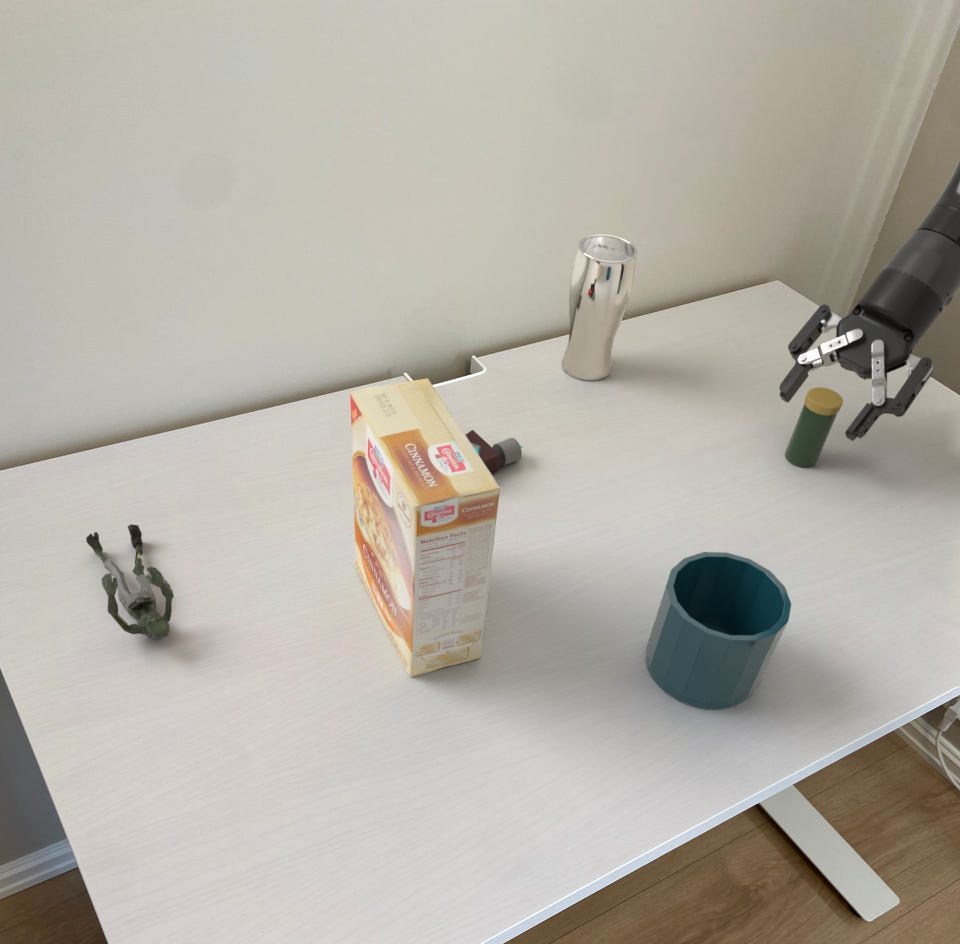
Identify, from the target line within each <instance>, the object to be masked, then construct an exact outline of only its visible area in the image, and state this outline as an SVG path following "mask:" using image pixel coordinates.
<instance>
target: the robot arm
mask: <svg viewBox="0 0 960 944" xmlns="http://www.w3.org/2000/svg"><path fill="white" fill-rule="evenodd" d="M959 289H960V156H959V157H958V160H957V162H956V165H955V167H954V169H953V172H952V173H951V176H950V177H949V179H948V181H947V183H946V186H945V188H944V189H943V191H942V192H941V194H940V196H939V197H938V199H937V200H936V201H935V203H934V204H933V206H932V207H931V209H930V210H929V211H928V213H927V214H926V216H924V218H923V220H922V221H921V222H920V223H919V225H918V226H917V227H916V229H915V230H914V231H913V233H912V234H911V235H910V236H909V237H908V238H907V239H906V240H905V241H904V242H903V244H901V246H900V247H899V248H898V249H897V250H896V251H895V252H894V254H893V255H892V257H890V259H889V260H888V262H887V263H886V265H885V266H884V267H883V269H882V270H881V271H880V273H879V274H878V275H877V277H876V278H875V279H874V280H873V282H872V283H871V285H870V286H869V287H868V288H867V290H866V291H865V293H864V294H863V296H862V297H861V298H860V300H859V301H858V302H857V304H856V305H855V306H854V308H853V309H852V311H851V312H850V313H849V314H848V315H846V316H845V317H840V316H839V315H837V314H836V313H834V312H832V311H831V307H830V306H829V305H828V304H822V305H820V306H819V307H818V308H817V309H816V311H815V312H814V313H813V314H812V316H811V317H810V318H809V319H808V320H807V321H806V323H805V324H804V325H802V328H800V330H798V333H797V334H796V335H795V336H794V337H793V338H792V339H791V341H790V342H789V344H788V345H787V348H788V351H789V353H790V357H791V358H792V360H793V361H795V363H794V365H793V366H792V368H791V369H790V370H789V372H788V373H787V375H786V376H785V377H784V378H783V380H782V381H781V383H780V384H779V391H780V392H779V397H780V399H781V400H782V401H783V402H785V403H787V404H788V403H789V402H791V400H792V399H793V397H794V396H795V395H796V394H797V392H798V391H799V389H800V388H801V387H802V386H803V384H804V383H805V381H807V379H808V377H810V375H809V373H810V372H812V371H816V370H817V369H820V368H823V367H826V368H827V367H830V366H833V365H836V364H839V366H840V367H841V368H843V369H844V370H846V371H850V372H853V373H855V374H856V375H857V376H858V377H859V378H860V379H863V380H864V381H866V380H871V385H872V387H871V388H872V391H871V393H872V400H871V402H870V403H869V402H867V403H866V404H865V405H864V406H863V408H862V409H861V411H860V412H859V413H858V414H857V416H856V417H855V418H854V420H853V421H852V422H851V423H850V425H849V426H848V427H847V429H846V430H845V433H844V434H845V437H846V439H848V440H849V441H852V442H854V441H855V440H856V439H857V438H858V439H862V438H863V437H865V436H866V435H867V434H868V432H869V430H871V428H872V427H873V425H874V424H875V423H876V422H877V420H878V419H879V418H880V417H881V416H882V415H884V414H888V415H894V416H895V417H897V418H901V417H903V416H904V415H905V414H906V413H907V411H908V410H909V409H910V407H911V405H912V404H913V403H914V401H915V400H916V398H917V397H918V395H919V394H920V393H921V391H922V389H923V388H924V387H925V385H926V383H927V382H928V381H929V379H930V378H931V377H932V375H933V373H934V366H933V360H932V359H931V358H930V357H928V356H926V357H922V358H921V357H919V356H917V355H914V354H913V353H912V352H913V349H914V348H915V347H916V346H917V344H918V343H920V341H921V339H922V338H923V337H924V335H925V333H926V332H927V331H928V330H929V328H931V326H932V325H933V324H934V322H935V321H936V320H937V318H938V317H939V316H940V314H941V313H942V312H943V310H944V309H945V308H946V307H948V306H949V304H950V303H951V302H952V301H953V299H954V296H955V295H956V293H957V292H958V291H959ZM833 329H835V338H832V339H829V340H828V341H825V342H822V343H821V344H819V345H818V346H817V347H816V348H814V349H811V347H812V346H813V345H814V344H815V343H816V341H817V340H818V339H819V338H820V336H821V335H822V334H826V333H829V332H830V331H831V330H833ZM809 349H811V350H809ZM905 366H907V369H906V375H907V379H906V380H905V382H904V383H903V384H902V386H901V388H900V389H899V390H898V392H897V393H896V395H895V396H894V398H893V397H888V374H889V373H891V372H893V371H896V370H898V369H901V368H904V367H905Z"/></svg>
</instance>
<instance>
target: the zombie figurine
mask: <svg viewBox="0 0 960 944" xmlns="http://www.w3.org/2000/svg"><path fill="white" fill-rule="evenodd" d="M127 529H128V532H129V536H130V542H131V545H132V547H133V548H134V549H135V556H134V567H133V569H132V570H131V571H132V573H133V574H134V575H135V579H136V582H137V583H138V585H139V587H140V592H139V591H138V592H135V593H132V592H131V590H130V588H129V586H128V584H127V582H126V579H125V573H124V572H123V571H122V570H120V568H119V566H118V565H116V564H115V562H114V561H113V560H111V559H110V558H108V557H107V556H106V555H104V553H103V550H104V548H103V546H102V545H101V542H100V534H99V533H98V532H97V531H95V532H93V534H92V533H89V534H88V535H87V536H86V539H85V542H86V544H87V545H88V546H89V547H90V548H91V549H92V551H93V553H94V554H95V555H98V557H99V558H100V560H101V562H102V564H103V566H104V568H105V570H107V571H108V572H109V573H105V574H104V575H103V576H102V578H101V585H102V588H103V589H104V591H105V593H106V594H107V596H108V597H107V613H108V614H109V615H110V616H111V617H112V618H113V620H114V621H115V622H116V623H117V624H118V625H119V627H120V628H121V629H122V630H123V631H124V632H126V633H129V634H131V635H143V636H147V637H148V638H153V639H154V640H155V641H156V640H158V641H159V640H162V639H164V638H168V635H169V633H170V630H171V627H170V622H171V619H172V612H173V609H172V607H173V605H172V603H173V598H175V596H174V591H173V589H172V588H171V584H170V583H168V581H167V580H166V579H165V577H164V576H163V574H162V572H161V571H160V570H159V569H158V568H156V567H153V566H149V567H147V568H146V571H147V572H148V574H145V571H144V570H145V565H143V560H142V558H141V556H142V555H143V553H144V550H143V545H144V543H143V539H142V535H143V534H142V531H141V529H140V527H139V525H138V524H132V523H131V524H129V525H127ZM152 586H154V587H157V588H159V589H160V592H161V594H162V596H163V597H164V599H165V605H164V607H165V608H164V614H163V615H161V614H160V613H159V612H158V611H157V606H158V605H157V598H156V595H155V591H154V589H153V587H152ZM116 592H118V593H116ZM116 594H117V595H118V600H119V602H120V604H121V605H122V607H123V608H124V610H125V611H126V612H127V613H128V614H129V616H131V617H132V618H133V619H135V620H136V621H137V622H138V624H137V623H131V624H129V623H127V621H126V620H125V619H124V618H123V617H122V616H121V615H120V614H119V605H118V601H117V599H116Z"/></svg>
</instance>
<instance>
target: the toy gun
mask: <svg viewBox="0 0 960 944" xmlns="http://www.w3.org/2000/svg"><path fill="white" fill-rule="evenodd" d="M464 434H465V435H466V437H467V438H468V440H469V441H470V443H471V444H472V446H473V447H474V449H475V450H476V452H477V453H478V455H479V456H480V458H481V459H482V461H483V462H484V464H485V465H486V467H487V468H488V470H489V471H490V473H491V474H494V473H496V472H499V469H500V467H504V466H507V465H510V464H512V463H515V462H517V461H519V460H521V459H522V456H523V452H522V451H523V450H522V448H523V447H524V445H521V444H520V443H519V441H518V440H517V439H516V438H514V437H509V438H507V439H504V440H501V441H499V442H497V443H494V444H493V446H492V445H490V444H489V443H488V442H486V440H485V439H484V438H482V436H481V435H480V434H478V432H476V431H475V430H474V429H472V430H470V431H469V432H467V433H464Z"/></svg>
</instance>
